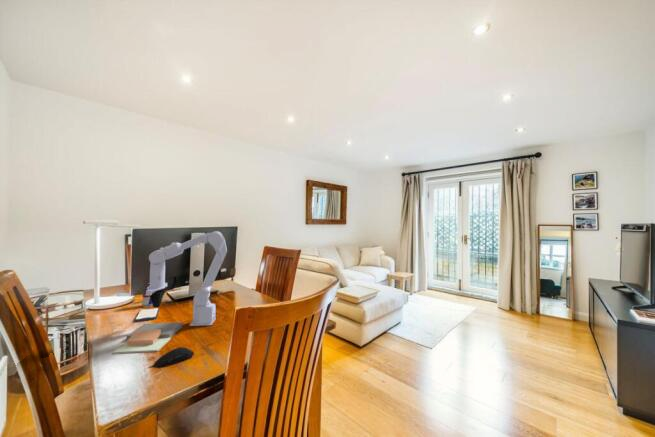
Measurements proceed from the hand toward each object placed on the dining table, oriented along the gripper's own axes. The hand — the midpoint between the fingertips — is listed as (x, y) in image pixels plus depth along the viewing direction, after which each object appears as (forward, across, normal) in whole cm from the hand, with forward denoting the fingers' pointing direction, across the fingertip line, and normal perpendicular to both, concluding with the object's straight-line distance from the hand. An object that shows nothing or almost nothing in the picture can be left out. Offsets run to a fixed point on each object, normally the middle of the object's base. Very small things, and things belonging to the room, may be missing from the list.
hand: (156, 306), depth 113 cm
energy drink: (+10, -32, -20) cm, 39 cm away
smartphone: (+10, -16, -12) cm, 23 cm away
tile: (+8, +14, +3) cm, 17 cm away
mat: (+9, +17, +4) cm, 20 cm away
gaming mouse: (+10, +29, +19) cm, 36 cm away
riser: (+9, +6, +3) cm, 12 cm away
